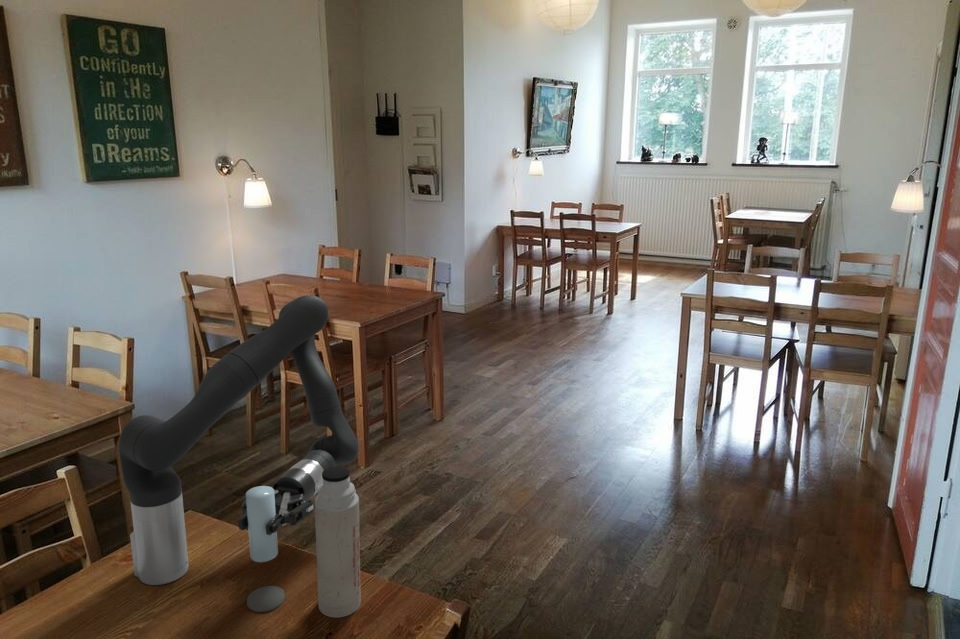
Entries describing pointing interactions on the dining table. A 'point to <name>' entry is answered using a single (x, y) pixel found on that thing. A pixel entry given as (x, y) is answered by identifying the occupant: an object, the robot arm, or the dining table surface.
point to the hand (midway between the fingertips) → (254, 527)
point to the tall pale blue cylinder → (261, 523)
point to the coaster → (265, 599)
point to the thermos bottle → (337, 544)
